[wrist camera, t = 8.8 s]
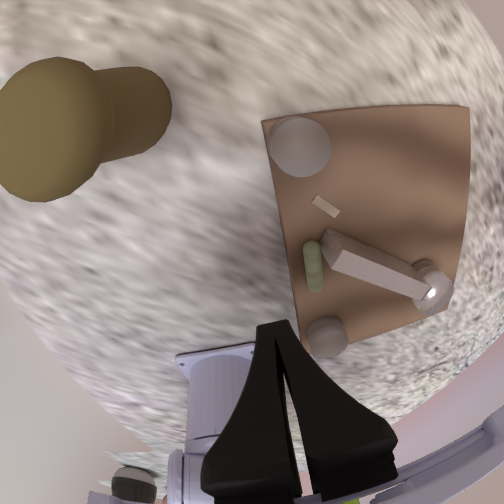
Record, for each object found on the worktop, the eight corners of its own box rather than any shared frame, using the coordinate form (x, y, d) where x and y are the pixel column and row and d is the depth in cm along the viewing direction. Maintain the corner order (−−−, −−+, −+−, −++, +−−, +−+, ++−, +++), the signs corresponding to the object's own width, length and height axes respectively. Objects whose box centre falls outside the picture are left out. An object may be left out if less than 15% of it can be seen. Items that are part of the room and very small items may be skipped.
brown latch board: (440, 300, 26) (456, 321, 23) (299, 344, 27) (307, 372, 24) (456, 104, 16) (486, 110, 13) (258, 119, 17) (266, 124, 14)
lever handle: (441, 266, 22) (460, 285, 19) (419, 297, 23) (435, 319, 20) (335, 213, 18) (352, 233, 16) (310, 258, 20) (322, 283, 17)
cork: (171, 59, 14) (99, 13, 5) (174, 151, 17) (113, 221, 8) (83, 76, 14) (-39, 79, 4) (89, 161, 17) (-17, 235, 7)
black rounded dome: (163, 478, 49) (162, 532, 36) (123, 473, 49) (119, 525, 35) (150, 466, 44) (147, 528, 31) (106, 460, 43) (99, 518, 30)
